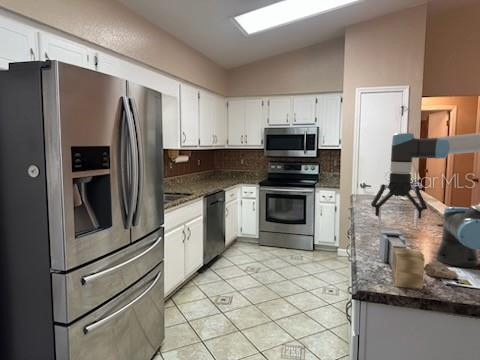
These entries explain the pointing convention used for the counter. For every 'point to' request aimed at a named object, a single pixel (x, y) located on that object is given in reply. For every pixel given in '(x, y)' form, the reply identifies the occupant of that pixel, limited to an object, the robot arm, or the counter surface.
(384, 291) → the counter surface
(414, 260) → the cardboard box
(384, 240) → the grey u-shaped block
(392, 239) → the light grey long block
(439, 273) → the rock
